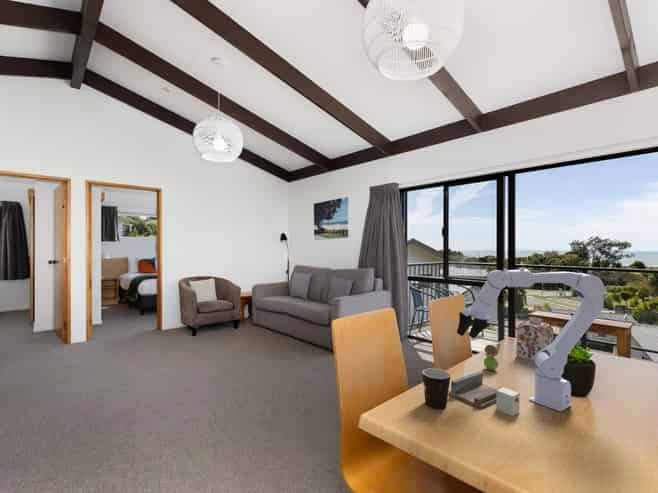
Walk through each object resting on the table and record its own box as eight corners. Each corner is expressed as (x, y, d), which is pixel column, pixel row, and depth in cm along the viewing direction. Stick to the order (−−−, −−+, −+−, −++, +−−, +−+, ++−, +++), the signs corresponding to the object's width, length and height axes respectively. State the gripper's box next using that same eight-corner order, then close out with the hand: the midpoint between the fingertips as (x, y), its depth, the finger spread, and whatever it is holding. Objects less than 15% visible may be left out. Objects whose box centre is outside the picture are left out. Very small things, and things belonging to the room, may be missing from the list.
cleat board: (508, 396, 115) (509, 382, 115) (481, 409, 106) (481, 393, 106) (476, 384, 125) (476, 370, 125) (448, 394, 116) (448, 380, 116)
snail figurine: (503, 372, 137) (503, 342, 137) (487, 372, 137) (487, 342, 137) (496, 367, 143) (497, 339, 142) (481, 367, 143) (481, 338, 143)
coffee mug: (425, 396, 115) (426, 366, 115) (452, 402, 110) (453, 371, 110) (415, 410, 105) (416, 378, 105) (444, 418, 100) (445, 384, 100)
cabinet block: (521, 413, 104) (521, 393, 104) (514, 417, 102) (514, 397, 102) (503, 406, 109) (503, 387, 109) (496, 409, 106) (496, 390, 106)
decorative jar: (525, 352, 164) (526, 314, 164) (553, 358, 155) (554, 319, 155) (515, 357, 156) (516, 318, 156) (543, 364, 147) (544, 322, 147)
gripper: (485, 300, 125) (467, 331, 127) (463, 292, 117) (445, 326, 119) (502, 309, 119) (483, 342, 122) (480, 302, 111) (460, 338, 113)
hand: (465, 335), depth 120 cm, fingers open, 7 cm apart
